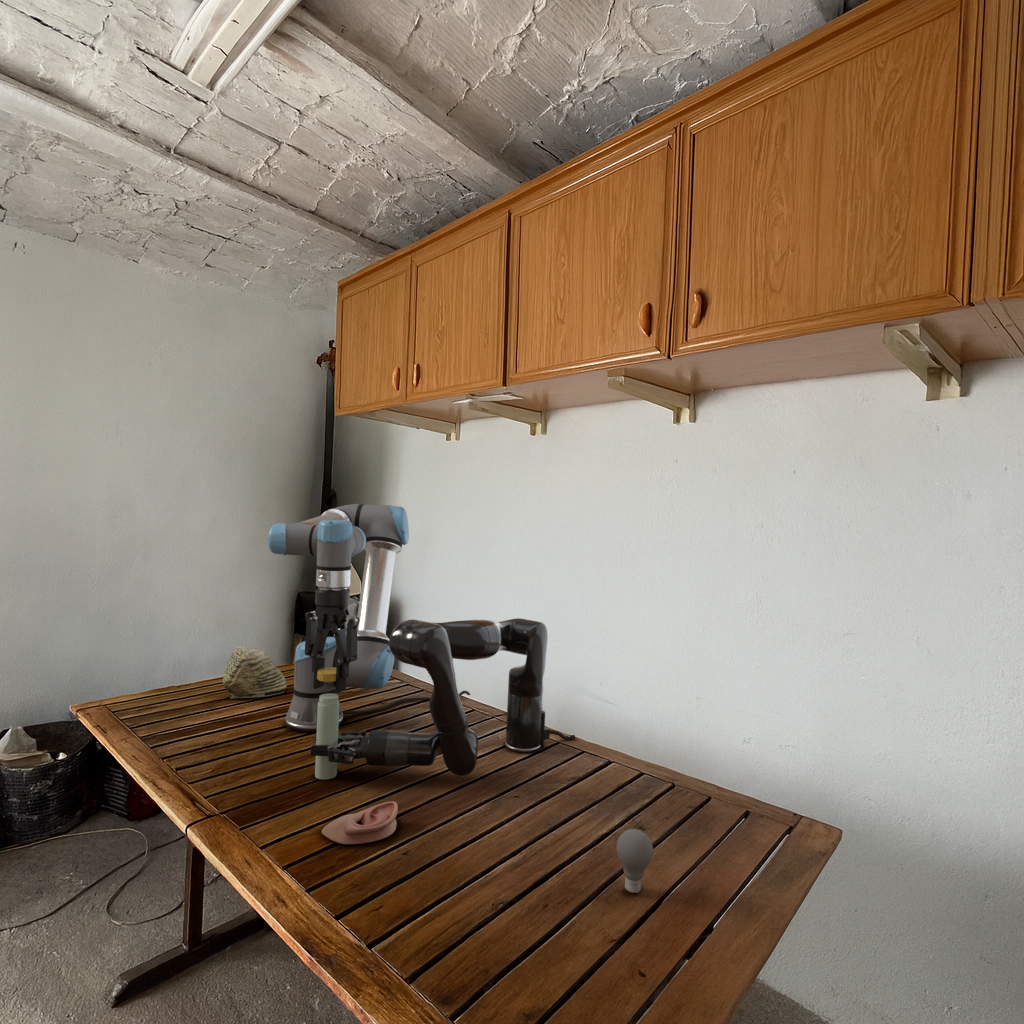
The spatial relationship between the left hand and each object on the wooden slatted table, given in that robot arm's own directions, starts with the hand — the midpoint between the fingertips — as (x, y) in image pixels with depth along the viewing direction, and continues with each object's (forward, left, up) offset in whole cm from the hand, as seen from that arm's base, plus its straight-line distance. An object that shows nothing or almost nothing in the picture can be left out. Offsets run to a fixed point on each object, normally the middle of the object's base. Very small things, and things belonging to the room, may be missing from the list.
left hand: (329, 689), depth 144 cm
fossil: (-18, -63, -20) cm, 69 cm away
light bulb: (-9, +73, -20) cm, 76 cm away
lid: (0, 0, +4) cm, 4 cm away
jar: (0, 0, -20) cm, 20 cm away
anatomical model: (+10, +25, -20) cm, 33 cm away
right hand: (+2, -2, -13) cm, 13 cm away
